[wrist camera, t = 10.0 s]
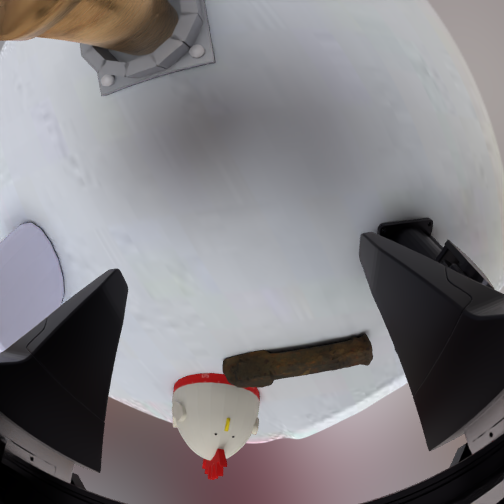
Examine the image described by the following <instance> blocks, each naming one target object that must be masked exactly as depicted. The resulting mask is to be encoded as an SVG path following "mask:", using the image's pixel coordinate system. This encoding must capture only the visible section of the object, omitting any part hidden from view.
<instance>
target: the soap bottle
mask: <svg viewBox="0 0 504 504" xmlns="http://www.w3.org/2000/svg"><path fill="white" fill-rule="evenodd" d="M63 295H64V287H63V276H62V272H61V269H60V265H59V261H58V258H57V256H56V254H55V252H54V249H53V247H52V245H51V243H50V241H49V240H48V238H47V237H46V236H45V234H44V233H43V231H42V230H41V229H40V228H39V227H37V226H36V225H34V224H33V223H26V224H21V225H19V226H18V227H17V228H16V229H15V230H14V231H13V232H12V233H10V234H9V235H8V236H7V237H6V238H5V239H4V240H3V241H2V242H1V243H0V353H1V352H3V351H4V350H6V349H7V348H8V347H10V346H11V345H12V344H13V343H15V342H16V341H17V340H19V339H20V338H21V337H22V336H24V335H25V334H26V333H28V332H29V331H30V330H31V329H33V328H34V327H35V326H36V325H38V324H39V323H40V322H41V321H43V320H44V319H45V318H46V317H48V316H49V315H50V314H51V313H52V312H54V311H55V310H56V309H57V308H59V307H60V305H61V302H62V299H63Z"/></svg>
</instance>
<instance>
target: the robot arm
mask: <svg viewBox="0 0 504 504" xmlns="http://www.w3.org/2000/svg"><path fill="white" fill-rule="evenodd" d="M428 223H429V224H428ZM432 227H433V221H432V220H431V219H430V218H425V219H417V220H409V221H401V222H393V223H385V224H381V225H380V226H379V228H378V234H376V233H373V232H367V233H362V234H361V237H360V249H359V257H360V261H361V264H362V267H363V269H364V272H365V275H366V278H367V281H368V284H369V287H370V290H371V293H372V295H373V297H374V300H375V302H376V304H377V306H378V309H379V311H380V313H381V315H382V318H383V320H384V322H385V325H386V327H387V329H388V332H389V334H390V336H391V339H392V341H393V344H394V347H395V351H396V353H397V354H398V357H399V359H400V362H401V364H402V367H403V370H404V373H405V375H406V378H407V381H408V384H409V387H410V389H411V392H412V395H413V399H414V402H415V405H416V408H417V411H418V415H419V417H420V421H421V424H422V428H423V432H424V435H425V439H426V443H427V446H428V449H429V451H431V450H434V449H436V448H438V447H440V446H442V445H444V444H446V443H448V442H450V441H452V440H454V439H455V438H457V437H459V436H461V435H463V434H465V437H466V440H467V443H466V444H465V445H463V446H461V447H460V448H458V450H457V452H456V454H455V457H454V459H453V461H452V463H451V466H450V467H449V468H448V469H446V470H444V471H442V472H440V473H438V474H436V475H434V476H432V477H430V478H428V479H426V480H424V481H421V482H419V483H417V484H415V485H412V486H410V487H407V488H405V489H402V490H400V491H397V492H395V493H392V494H389V495H386V496H383V497H380V498H377V499H374V500H371V501H367V502H364V503H360V504H504V294H502V293H500V292H498V291H496V290H494V287H493V286H492V284H491V283H490V281H489V280H488V279H487V277H486V276H485V274H484V273H483V272H482V271H481V270H480V269H479V268H478V267H477V265H476V264H475V263H474V262H473V261H472V260H471V259H470V258H469V257H468V256H467V255H465V254H464V253H463V252H462V251H461V250H460V249H459V248H457V247H456V246H455V245H454V244H453V243H452V242H450V241H449V240H447V241H446V243H445V246H444V247H442V246H441V245H440V244H439V243H438V242H437V241H436V240H435V239H434V238H433V237H432V236H431V232H432ZM384 228H385V230H384V231H382V230H383V229H384ZM127 294H128V286H127V283H126V281H125V279H124V277H123V275H122V273H121V271H120V270H119V269H110V270H108V271H106V272H105V273H104V274H102V275H101V276H100V277H98V278H97V279H95V280H94V281H93V282H91V283H90V284H89V285H87V286H86V287H85V288H83V289H82V290H81V291H79V292H78V293H77V294H75V295H74V296H73V297H71V298H70V299H69V300H68V301H66V302H65V303H64V304H62V305H61V306H60V307H59V308H57V309H56V310H55V311H54V312H52V313H51V314H50V315H49V316H48V317H46V318H45V319H44V320H43V321H41V322H40V323H39V324H38V325H36V326H35V327H34V328H33V329H31V330H30V331H29V332H28V333H26V334H25V335H24V336H22V337H21V338H20V339H19V340H17V341H16V342H15V343H13V344H12V345H11V346H10V347H8V348H7V349H6V350H4V351H3V352H1V353H0V504H126V503H123V502H120V501H116V500H113V499H110V498H107V497H104V496H101V495H98V494H95V493H93V492H90V491H87V490H86V489H85V487H84V485H83V483H82V482H81V480H80V478H79V476H78V475H77V474H74V473H73V468H74V464H76V465H78V466H81V467H83V468H86V469H89V470H92V471H96V472H98V473H100V471H101V458H102V444H103V434H104V425H105V423H104V421H105V416H106V408H107V401H108V395H109V389H110V383H111V377H112V372H113V367H114V362H115V357H116V352H117V347H118V343H119V338H120V334H121V330H122V325H123V320H124V313H125V307H126V300H127Z"/></svg>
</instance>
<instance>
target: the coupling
mask: <svg viewBox="0 0 504 504" xmlns="http://www.w3.org/2000/svg"><path fill="white" fill-rule="evenodd" d="M177 23H178V15H177V12H176V10H175V8H174V7H173V6H172V5H171V4H170V3H169V1H168V0H0V41H1V40H2V41H3V40H12V41H23V40H29V39H32V38H35V37H41V38H51V39H58V40H65V41H72V42H78V43H83V44H88V45H93V46H98V47H102V48H107V49H111V50H115V51H119V52H122V53H126V54H130V55H135V56H141V55H147V54H150V53H153V52H154V51H155V50H156V49H157V48H158V47H159V46H160V45H162V44H163V43H164V42H165V41H166V40H167V39H169V38H170V37H171V36H172V34H173V32H174V29H175V27H176V25H177Z"/></svg>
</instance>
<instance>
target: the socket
mask: <svg viewBox="0 0 504 504" xmlns="http://www.w3.org/2000/svg"><path fill="white" fill-rule="evenodd" d="M168 1H169V3H170V4H171V5H172V6H173V7H174V8H175V10H176V12H177V15H178V23H177V25H176V27H175V29H174V32H173V34H172V36H171V37H170V38H169V39H167V40H166V41H165V42H164V43H163V44H162V45H160V46H159V47H158V48H157V49H156V50H155V51H154V52H153V53H150V54H147V55H141V56H135V55H130V54H126V53H122V52H119V51H115V50H111V49H107V48H102V47H98V46H93V45H88V44H83V43H80V48H81V56H82V57H83V58H84V59H85V60H86V61H87V62H88V63H89V64H90V65H91V66H92V67H93V68H94V69H95V71H96V72H97V74H98V80H99V86H100V91H101V96H106V95H109V94H111V93H113V92H116V91H118V90H121V89H124V88H126V87H129V86H132V85H135V84H137V83H140V82H143V81H146V80H149V79H152V78H156V77H159V76H162V75H166V74H169V73H173V72H176V71H180V70H184V69H188V68H192V67H197V66H201V65H206V64H210V63H215V59H214V53H213V47H212V42H211V36H210V30H209V25H208V19H207V14H206V8H205V2H204V0H168Z"/></svg>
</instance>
